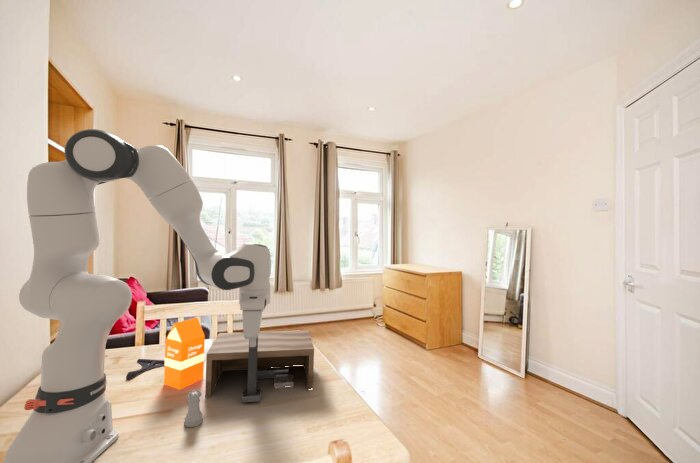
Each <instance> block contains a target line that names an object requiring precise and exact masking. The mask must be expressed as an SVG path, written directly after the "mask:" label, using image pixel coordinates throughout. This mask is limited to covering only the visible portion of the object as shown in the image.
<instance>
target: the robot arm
mask: <svg viewBox="0 0 700 463" xmlns="http://www.w3.org/2000/svg"><path fill="white" fill-rule="evenodd" d="M64 157H65V159H64V160H61V161H48V162H43V163H39V164H37V165H35V166H34V167H32V168H31V169H29V170H30V171H29V172H28V175H27V183H26V184H27V186H26V201H27V202H26V204H27V212H28V218H29V224H30V229H31V230H30V231H31V236H32V238H31V239H32V244H33V262H32V265H31V266H32V267H31V272H30V276H29V278H28V280H26V282H24V283H23V285H22V287H21V288H20V290H19V293H18V294H19V295H18V298H19V299H18V300H19V303H20V305H21V307H22V308H23V309H24V310H25V311H28V313H30V314H33V315H35V316H37V317H39V318H41V319H42V318H43V319H48V320H54V321H55V320H57V321H59V327H58V331H57V334H56V337H55V339H54V341H53V342H52V343H50V344H49V345H47V347H46V348H45V349H44V350H43V352H42V353H41V354H42V355H41V366H40V367H41V372H40V385H39V387H38V389H37V392H36V394H35V397H34V398H32V399H31V398H30V399H27V401H25V404H24V407H23V408H24V410H25V411H32V412H31V414H30V415H29V416H28V419H27V420H26V421H25V422H24V424H23V426H22V427H21V428H20V429H19V432H18V433H17V435H16V436H15V437H14V439H13V440H12V442H11V444H10V445H9V447H8V448H7V449H6V452H5V454H4V460H3V463H92V462H93V461H94V460H96V458H98V457H99V456H100V455H101V454H102V453H103V452H104V451H106V450H107V449H108V448H109V447H110V446H111V445H112V444H113V443H115V441H117V440H118V439H119V437H120V436H119V432H118V430H115V429H114V428H113V427H114V426H113V412H112V411H113V410H112V402H111V401H110V400H109V399H108V397H107V396H106V394H105V392H106V389H107V375H106V373H105V361H106V360H105V359H106V358H105V357H106V345H107V342H108V338H109V335H110V333H111V330H112V328H113V327H114V325H115V323H116V322H117V321H118V320H120V319H121V318H123V316H125V315H126V313H127V312H128V310H129V309H130V306H131V305H132V301H133V300H132V299H133V293H132V289H131V288H130V286H129V284H128V283H127V282H125V281H123V280H120V278H119V279H118V278H115V277H112V276H111V275H107V274H95V273H89V270H88V268H89V267H88V265H89V259H90V258H91V255H92V253H93V252H95V250H96V249H97V248H98V247H99V245H100V236H99V228H98V221H97V215H96V209H95V208H96V207H95V201H94V200H95V199H94V192H95V188H96V187H97V186H98V185H101V184H102V185H103V184H106V183H110V182H115V181H117V180H120V179H121V180H122V179H127V180H131V181H133V182H134V183H135V184H136V185H137V186H138V187H139V189H140V190H141V191H142V192H143V194H144V195H145V197H146V199H147V200H148V201H149V202H150V204H151V205H152V207H153V208H154V209H155V211H156V212H158V214H159V215H160V216H161V217H162V218H163V219H164V220H165V222H166V223H167V224H169V226H170V227H171V228H172V229H173V230H174V231H175V232H176V233H177V235H178V236H179V238H180V239H181V241H182V243H183V244H184V246H185V247H186V249H187V251H188V252H189V254H190V255H191V257H192V259H193V261H194V266H195V272H196V276H197V277H198V279H199V281H200V282H201V283H203V284H204V285H207V286H211V287H214V288H216V289H219V290H222V291H231V290H235V289H239V294H238V298H239V299H238V303H239V306H240V307H239V309H240V311H242V330H243V331H242V332H243V333H244V337H245V339H249V340H250V347H256V338H258V335H259V332H260V330H261V325H262V320H263V312H264V310H266V308H267V305H269V304H271V282H270V276H271V274H272V272H271V271H272V260H271V259H272V258H271V252H270V249H269V247H267V246H266V245H264V244H259V243H253V242H245V243H243V244H242V245H241V246H240V247H238V248H236V249H234V250H233V251H229V252H227V253H225V254H224V253H222V252H221V251H218V249H216V248H215V246H214V245H213V243H212V242H211V240H210V238H209V237H208V234H207V233H206V232H205V230H204V228H203V226H202V224H201V219H200V218H201V212H202V209H203V205H204V202H203V198H202V197H201V194H200V192H199V190H198V188H197V185H196V183H194V181H193V180H192V178H191V176H190V174H189V173H188V172H187V170H186V169H185V168H184V166H183V165H182V164H181V163H180V161H179V160H178V159H177V158H176V156H174V155H173V154H172V152H171V151H170V150H169V149H168V148H166V147H164V146H163V145H159V144H151V145H145V146H143V147H140V148H136V147H135V146H133V145H131V144H130V143H128V142H127V141H125V140H123V139H121V138H120V137H118V136H117V135H115V134H113V133H110V132H109V131H105V130H102V129H95V128H94V129H93V128H90V129H89V128H87V129H84V130H83V129H82V130H80V131H79V130H78V131H77V132H75V133H74V134H73V135H71V136H70V137H69V138H68V139H67V141H66V142H65V146H64Z"/></svg>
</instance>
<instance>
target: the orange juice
mask: <svg viewBox="0 0 700 463" xmlns="http://www.w3.org/2000/svg"><path fill="white" fill-rule="evenodd" d="M205 338H206V336H205V332H204V331H203V328H202V326H201V323H200V321H199V319H198V317H193V318H189V319H186V320H183V321H178V322H175V323H173V326H172V327H171V330H170V331H169V332H168V334H167V336H166V338H165V342H164V343H165V346H164V347H165V348H164V360H165V366H164V374H163V375H164V378H163V379H164V380H163V384H164V385H165V386H168V387H172V388H173V389H177V390H182V389H184V388H186V387H189V386H191V385H193V384H195V383H197V382H199V381H201V380H204V371H205V370H204V369H205V368H204V367H205V366H204V365H205V363H204V362H205Z"/></svg>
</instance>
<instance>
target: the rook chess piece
mask: <svg viewBox="0 0 700 463" xmlns="http://www.w3.org/2000/svg"><path fill="white" fill-rule="evenodd" d="M201 396H202V393H201V390H199V389H193V390H190V391H189V393H188V394H187V396H186V397H187V399H188V401H187V403H188V409H187V413H186V415H185V417H184V418H183V419H184V422H183V425H184V426H185V427H186V428H195V427H198V426H199V425H201V424H202V423H203V421H204V419H203V418H204V415H203V413H202V410H201V408H200V407H201V406H200V402H201V399H200V398H201Z"/></svg>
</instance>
